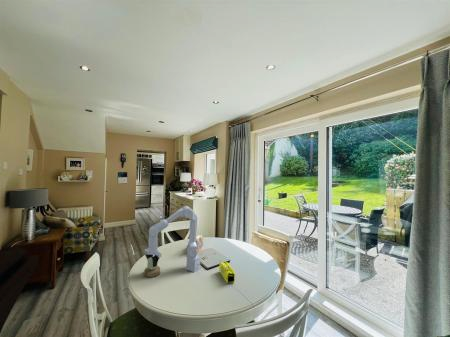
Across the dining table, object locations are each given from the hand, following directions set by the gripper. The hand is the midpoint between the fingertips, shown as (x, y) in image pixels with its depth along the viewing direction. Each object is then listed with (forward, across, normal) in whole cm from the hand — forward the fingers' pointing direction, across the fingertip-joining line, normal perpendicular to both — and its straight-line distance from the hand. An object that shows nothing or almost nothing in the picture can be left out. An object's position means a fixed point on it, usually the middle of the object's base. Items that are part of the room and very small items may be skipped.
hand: (152, 265), depth 134 cm
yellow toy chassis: (+6, +43, +25) cm, 50 cm away
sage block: (+1, 0, 0) cm, 1 cm away
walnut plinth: (+6, 0, 0) cm, 6 cm away
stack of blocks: (+6, -2, +48) cm, 48 cm away
